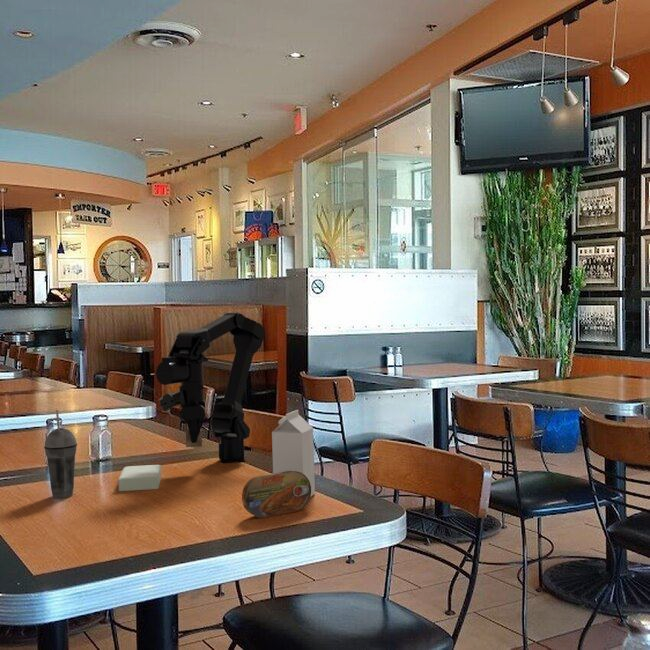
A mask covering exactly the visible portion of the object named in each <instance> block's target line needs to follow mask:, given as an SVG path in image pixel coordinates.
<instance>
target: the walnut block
mask: <svg viewBox="0 0 650 650" xmlns="http://www.w3.org/2000/svg"><path fill="white" fill-rule="evenodd" d="M202 434H203V433H202V428H201V430H200V433H199V436H198V439H197V441H196V443H192V442H191V437H190V433H189V429H188V428H186V429H185V447H186V448H199V447H200V448H201V447H203V439H202V437H203V435H202Z"/></svg>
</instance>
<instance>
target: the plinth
mask: <svg viewBox="0 0 650 650" xmlns="http://www.w3.org/2000/svg"><path fill="white" fill-rule="evenodd" d="M161 479H162V465H161V464H148V465H147V464H146V465H130V466H128V465H127V466H125V467H123V469H122V471H121V473H120V476H119V478H118V479H117V481H118V492H129V491H130V492H131V491H133V492H134V491H145V490H147V491H148V490H159V488H160V482H161Z"/></svg>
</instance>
